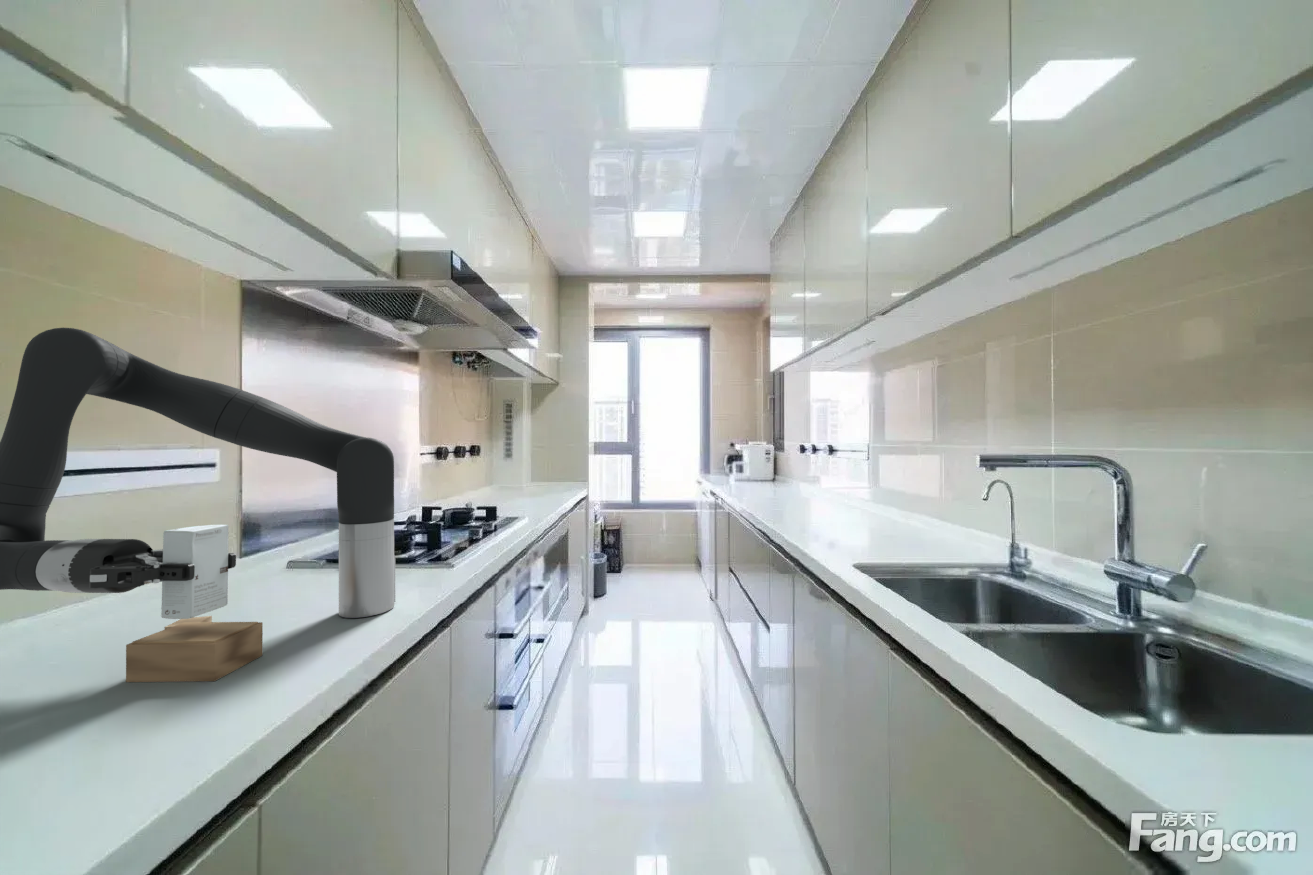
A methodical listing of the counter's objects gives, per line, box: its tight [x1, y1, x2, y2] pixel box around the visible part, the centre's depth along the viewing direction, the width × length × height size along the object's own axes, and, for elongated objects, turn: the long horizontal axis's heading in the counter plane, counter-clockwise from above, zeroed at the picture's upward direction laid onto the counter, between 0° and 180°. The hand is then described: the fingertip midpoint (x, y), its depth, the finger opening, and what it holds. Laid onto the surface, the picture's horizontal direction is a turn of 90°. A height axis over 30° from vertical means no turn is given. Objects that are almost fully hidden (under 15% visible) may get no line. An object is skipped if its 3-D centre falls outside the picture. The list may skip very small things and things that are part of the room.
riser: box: [125, 621, 263, 683], centre depth 70 cm, size 8×12×5 cm, turn 90°
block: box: [164, 615, 213, 630], centre depth 78 cm, size 4×4×4 cm
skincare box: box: [160, 524, 230, 620], centre depth 70 cm, size 6×4×12 cm
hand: (213, 566), depth 70 cm, fingers closed on skincare box, 6 cm apart
